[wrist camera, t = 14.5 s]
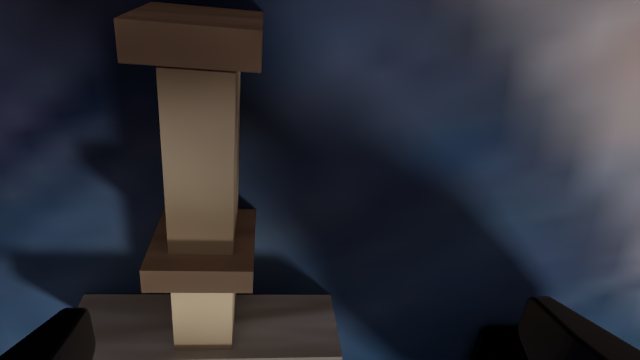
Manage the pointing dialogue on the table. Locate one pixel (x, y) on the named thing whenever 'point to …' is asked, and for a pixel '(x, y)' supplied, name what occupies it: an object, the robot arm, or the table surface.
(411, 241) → the table surface
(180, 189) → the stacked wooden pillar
